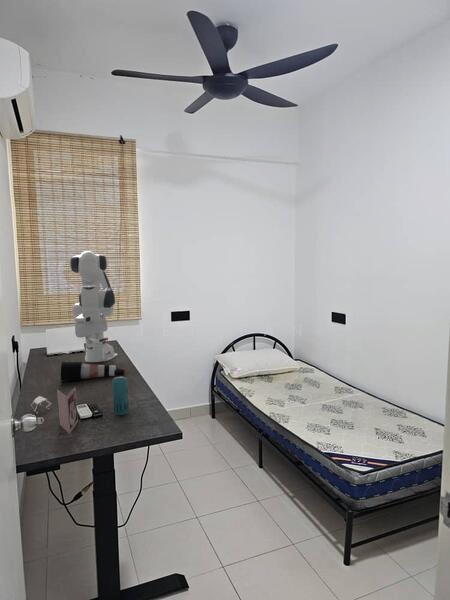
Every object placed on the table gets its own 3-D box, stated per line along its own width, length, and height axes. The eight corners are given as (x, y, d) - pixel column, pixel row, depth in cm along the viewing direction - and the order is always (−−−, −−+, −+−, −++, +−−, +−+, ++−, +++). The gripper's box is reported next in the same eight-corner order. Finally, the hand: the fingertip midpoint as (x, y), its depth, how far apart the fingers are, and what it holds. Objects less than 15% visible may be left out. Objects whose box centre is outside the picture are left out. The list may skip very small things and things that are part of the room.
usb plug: (84, 346, 210) (83, 339, 210) (89, 344, 214) (88, 338, 213) (99, 347, 206) (98, 340, 206) (103, 346, 210) (103, 339, 209)
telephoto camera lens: (124, 383, 229) (126, 370, 224) (60, 384, 219) (60, 370, 214) (124, 371, 237) (125, 358, 232) (62, 371, 227) (62, 357, 222)
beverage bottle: (115, 419, 167) (112, 373, 165) (112, 414, 173) (109, 368, 171) (130, 416, 170) (128, 370, 167) (128, 411, 176) (125, 366, 174)
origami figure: (53, 410, 179) (53, 400, 179) (33, 415, 174) (32, 404, 174) (48, 403, 189) (47, 393, 188) (28, 407, 184) (27, 397, 183)
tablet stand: (47, 351, 295) (45, 328, 293) (83, 347, 305) (81, 325, 303) (47, 357, 278) (45, 332, 276) (85, 352, 288) (83, 329, 286)
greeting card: (71, 433, 155) (68, 396, 153) (52, 434, 155) (48, 397, 153) (80, 421, 166) (77, 386, 165) (61, 422, 166) (58, 387, 164)
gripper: (100, 313, 219) (101, 338, 221) (72, 319, 201) (74, 346, 202) (109, 313, 217) (111, 338, 218) (81, 319, 198) (83, 347, 200)
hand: (93, 342), depth 210 cm, fingers closed on usb plug, 4 cm apart
